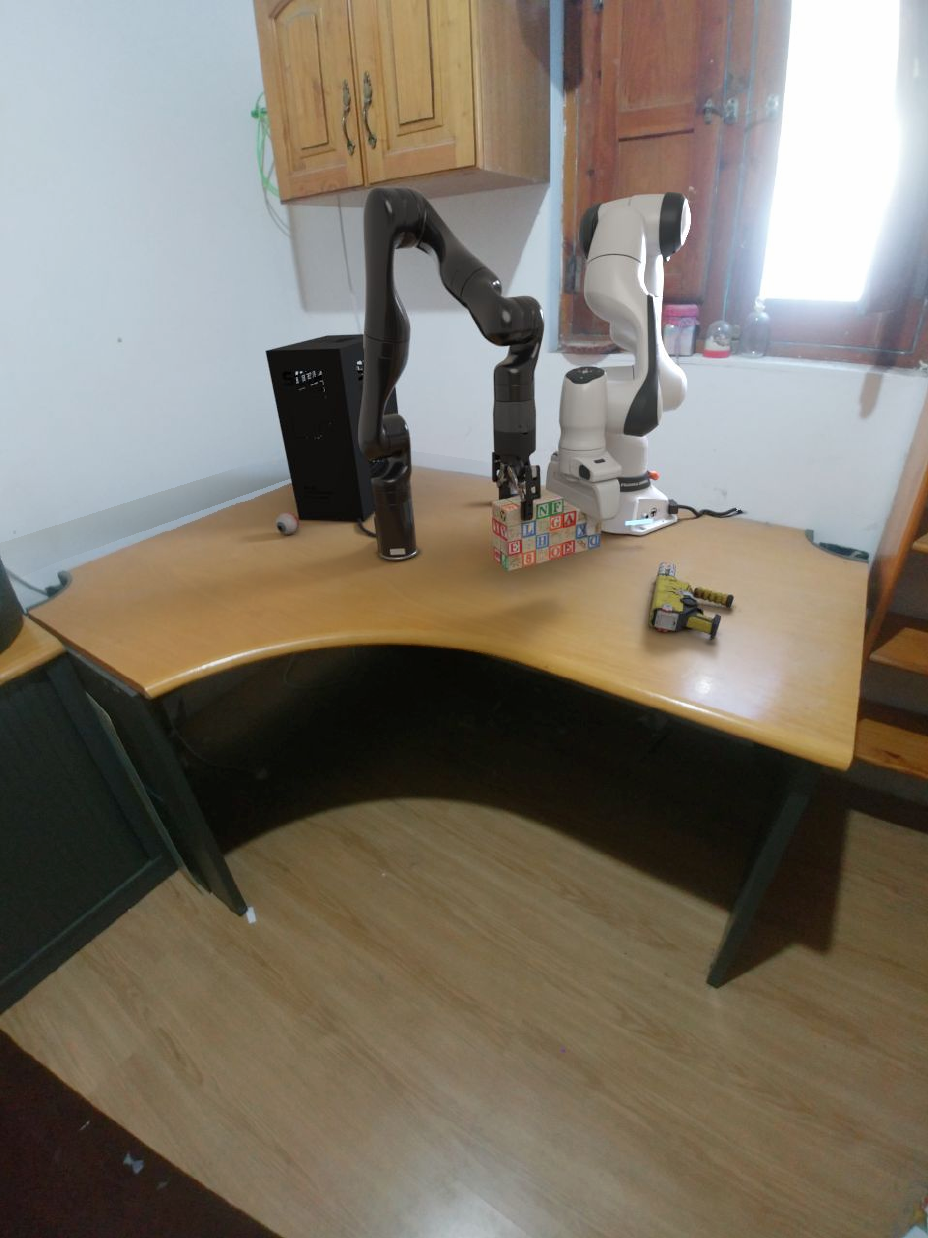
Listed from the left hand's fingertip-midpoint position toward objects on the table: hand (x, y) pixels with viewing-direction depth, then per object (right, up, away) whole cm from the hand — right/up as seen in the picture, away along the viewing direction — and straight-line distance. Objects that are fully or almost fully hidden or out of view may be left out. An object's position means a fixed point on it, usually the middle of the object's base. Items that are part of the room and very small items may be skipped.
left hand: (515, 513), depth 114 cm
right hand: (+13, -2, +8) cm, 16 cm away
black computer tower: (-44, +18, +75) cm, 88 cm away
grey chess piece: (+4, +14, +64) cm, 66 cm away
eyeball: (-58, +3, +51) cm, 77 cm away
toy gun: (+35, -18, +5) cm, 40 cm away
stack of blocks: (+7, -7, +8) cm, 12 cm away
